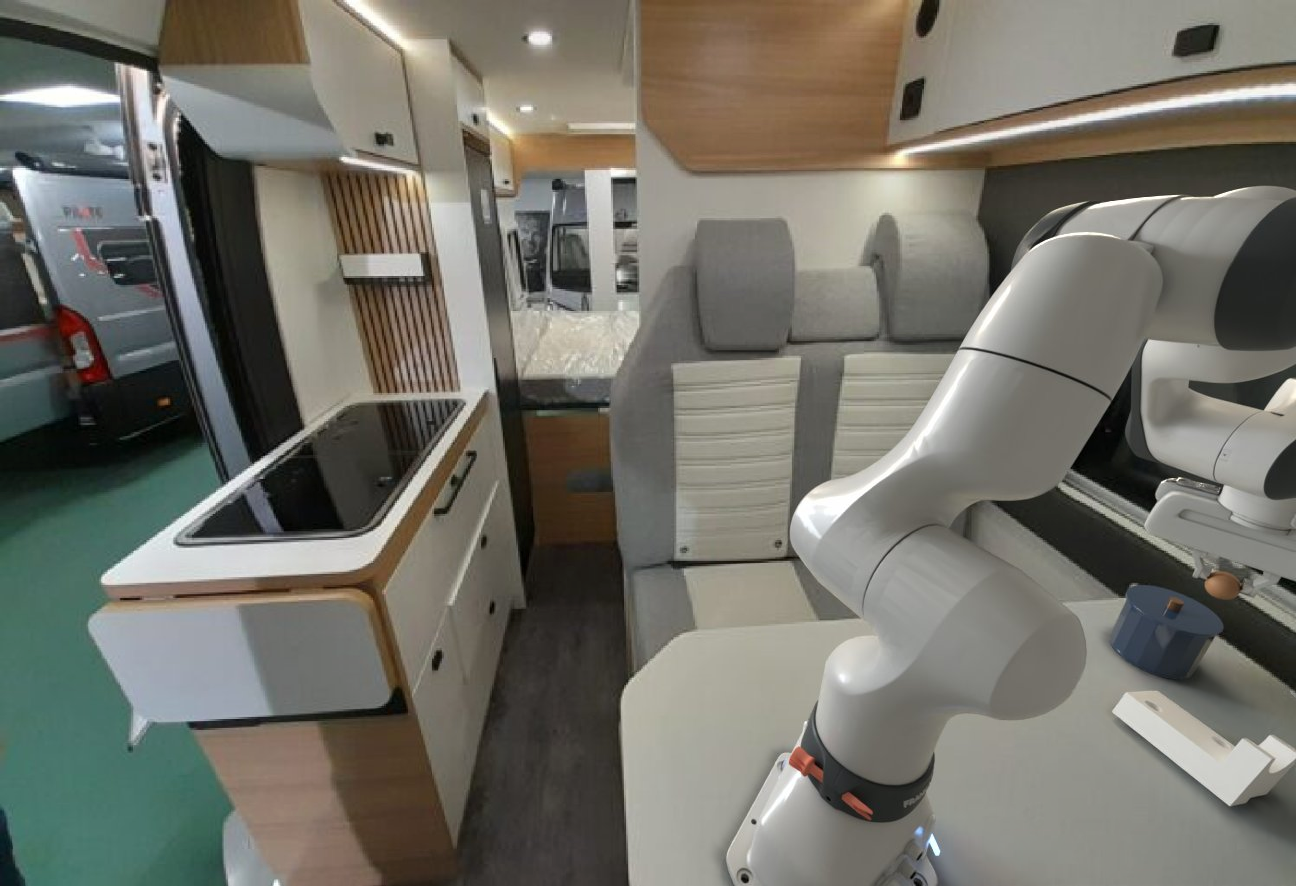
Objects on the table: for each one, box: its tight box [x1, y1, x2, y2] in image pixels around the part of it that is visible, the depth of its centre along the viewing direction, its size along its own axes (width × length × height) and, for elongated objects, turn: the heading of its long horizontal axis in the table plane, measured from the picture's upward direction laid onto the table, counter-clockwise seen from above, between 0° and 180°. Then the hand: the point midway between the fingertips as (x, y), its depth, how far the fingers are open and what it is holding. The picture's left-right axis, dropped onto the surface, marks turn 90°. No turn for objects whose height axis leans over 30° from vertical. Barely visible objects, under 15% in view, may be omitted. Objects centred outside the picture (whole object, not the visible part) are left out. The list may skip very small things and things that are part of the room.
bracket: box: [1111, 690, 1296, 807], centre depth 67 cm, size 13×7×8 cm, turn 16°
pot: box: [1108, 598, 1216, 680], centre depth 82 cm, size 10×10×8 cm
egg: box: [1204, 570, 1241, 601], centre depth 75 cm, size 5×3×3 cm
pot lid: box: [1125, 584, 1224, 637], centre depth 80 cm, size 11×11×3 cm
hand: (1222, 585), depth 75 cm, fingers closed on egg, 3 cm apart
